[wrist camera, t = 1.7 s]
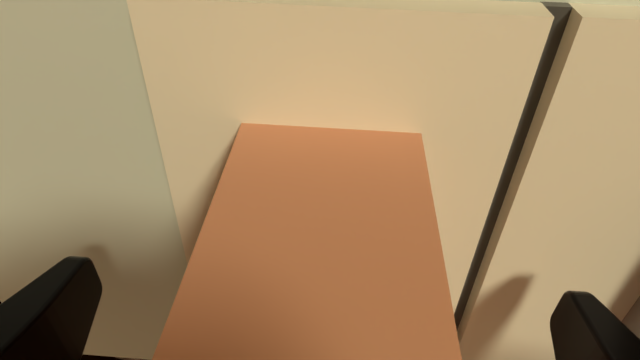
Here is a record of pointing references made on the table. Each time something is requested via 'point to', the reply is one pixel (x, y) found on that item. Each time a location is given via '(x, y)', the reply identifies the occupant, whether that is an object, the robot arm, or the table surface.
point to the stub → (331, 166)
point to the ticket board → (160, 218)
